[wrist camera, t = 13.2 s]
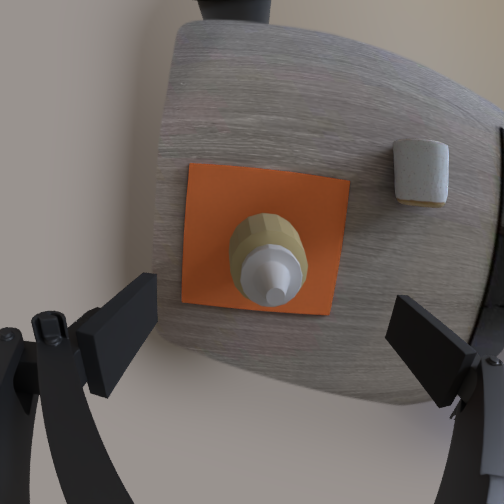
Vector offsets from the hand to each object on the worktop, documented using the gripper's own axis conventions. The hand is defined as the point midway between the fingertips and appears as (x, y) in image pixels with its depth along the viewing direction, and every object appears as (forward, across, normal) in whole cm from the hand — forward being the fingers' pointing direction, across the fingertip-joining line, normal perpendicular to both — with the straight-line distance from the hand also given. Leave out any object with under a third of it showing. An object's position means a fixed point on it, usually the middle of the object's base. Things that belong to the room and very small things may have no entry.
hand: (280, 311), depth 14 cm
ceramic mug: (+22, +20, +11) cm, 32 cm away
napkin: (+21, 0, -1) cm, 21 cm away
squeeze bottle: (+21, 0, -1) cm, 21 cm away
